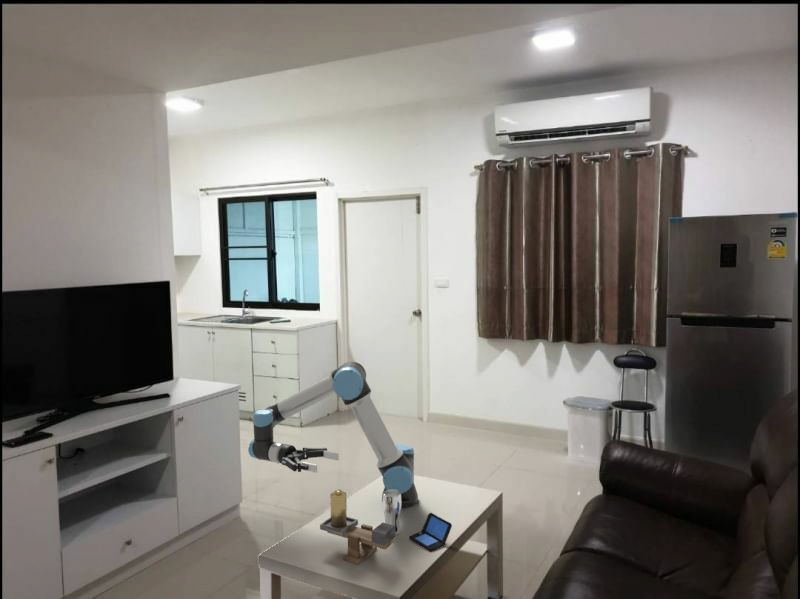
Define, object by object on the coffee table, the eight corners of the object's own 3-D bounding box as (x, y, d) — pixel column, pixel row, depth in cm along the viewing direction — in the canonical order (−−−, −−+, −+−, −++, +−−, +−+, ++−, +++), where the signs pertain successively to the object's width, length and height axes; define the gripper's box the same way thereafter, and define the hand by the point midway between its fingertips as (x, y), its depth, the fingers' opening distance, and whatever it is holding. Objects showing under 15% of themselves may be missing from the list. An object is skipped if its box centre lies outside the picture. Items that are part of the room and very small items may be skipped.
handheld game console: (407, 539, 220) (407, 519, 219) (429, 530, 227) (429, 511, 226) (430, 553, 210) (430, 532, 210) (452, 543, 217) (452, 523, 216)
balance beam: (336, 522, 219) (336, 507, 219) (397, 539, 207) (397, 524, 206) (320, 533, 211) (319, 518, 211) (382, 551, 198) (382, 536, 198)
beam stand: (362, 544, 216) (362, 521, 215) (376, 548, 213) (376, 525, 212) (343, 559, 205) (343, 536, 205) (357, 564, 202) (357, 540, 202)
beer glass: (403, 528, 228) (403, 490, 227) (397, 536, 221) (397, 497, 220) (386, 525, 230) (386, 487, 229) (380, 533, 224) (380, 495, 222)
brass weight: (337, 519, 217) (336, 486, 215) (349, 522, 214) (349, 489, 213) (327, 525, 212) (327, 492, 211) (340, 529, 209) (340, 495, 208)
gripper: (303, 453, 246) (346, 461, 236) (261, 474, 224) (307, 484, 214) (302, 435, 245) (346, 442, 235) (261, 454, 223) (306, 463, 213)
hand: (327, 462), depth 224 cm, fingers open, 13 cm apart
